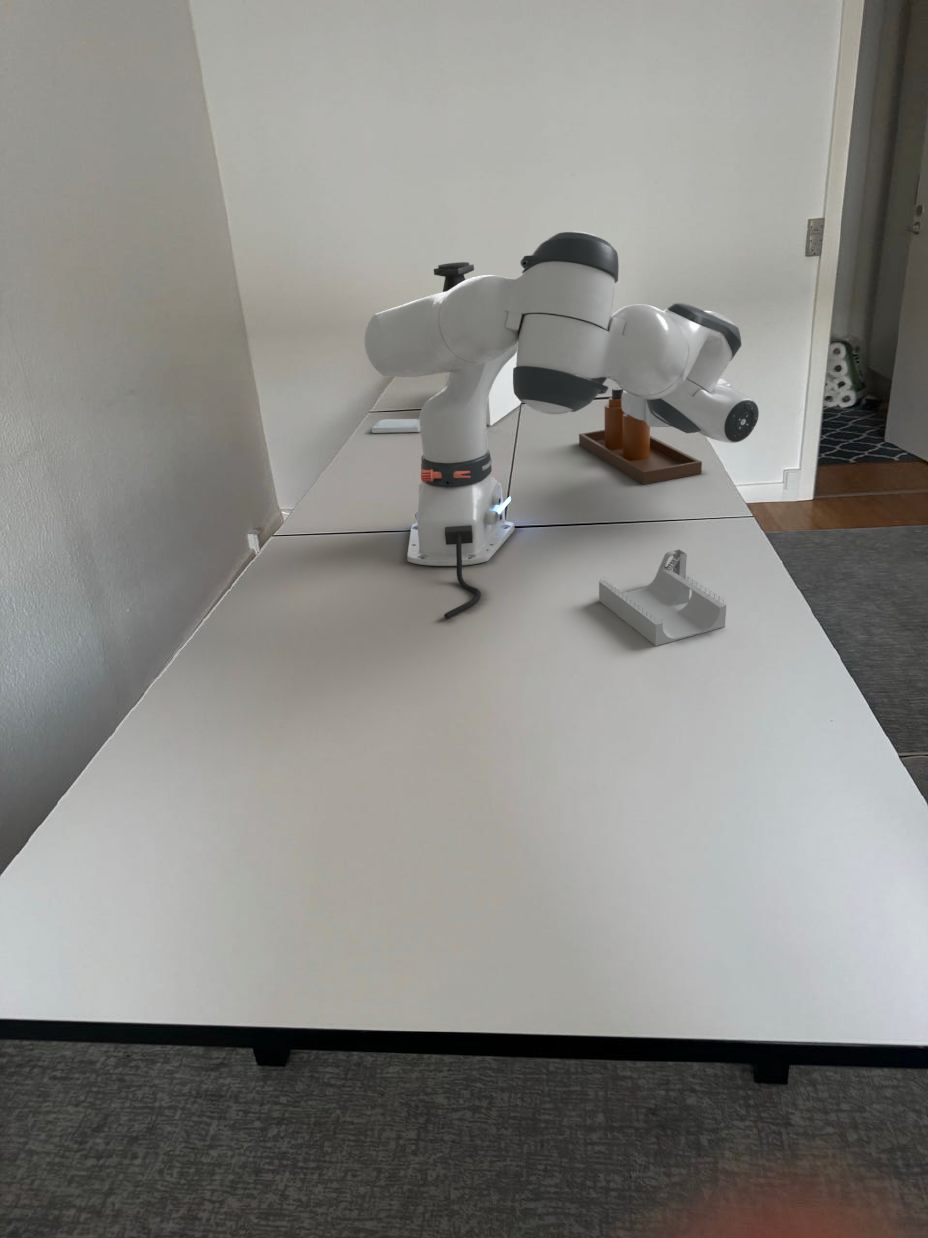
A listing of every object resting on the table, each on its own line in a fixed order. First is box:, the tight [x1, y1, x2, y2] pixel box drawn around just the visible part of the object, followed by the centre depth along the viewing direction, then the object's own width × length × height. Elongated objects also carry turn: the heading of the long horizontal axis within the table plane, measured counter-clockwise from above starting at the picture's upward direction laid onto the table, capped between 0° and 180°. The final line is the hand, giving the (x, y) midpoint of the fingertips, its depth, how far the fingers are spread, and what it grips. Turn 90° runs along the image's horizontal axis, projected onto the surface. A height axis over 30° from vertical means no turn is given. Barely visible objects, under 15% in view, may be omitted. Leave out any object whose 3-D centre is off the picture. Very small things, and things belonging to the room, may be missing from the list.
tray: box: [578, 429, 703, 485], centre depth 177 cm, size 32×13×2 cm, turn 16°
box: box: [444, 352, 522, 427], centre depth 225 cm, size 20×40×14 cm, turn 3°
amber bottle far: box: [603, 386, 625, 449], centre depth 182 cm, size 6×6×12 cm
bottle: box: [433, 261, 475, 292], centre depth 294 cm, size 18×16×30 cm
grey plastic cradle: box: [598, 548, 727, 647], centre depth 115 cm, size 15×13×5 cm
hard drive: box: [371, 418, 421, 434], centre depth 216 cm, size 2×8×12 cm
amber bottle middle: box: [623, 413, 651, 460], centre depth 175 cm, size 6×6×12 cm
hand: (657, 388), depth 161 cm, fingers closed on pill bottle, 6 cm apart
